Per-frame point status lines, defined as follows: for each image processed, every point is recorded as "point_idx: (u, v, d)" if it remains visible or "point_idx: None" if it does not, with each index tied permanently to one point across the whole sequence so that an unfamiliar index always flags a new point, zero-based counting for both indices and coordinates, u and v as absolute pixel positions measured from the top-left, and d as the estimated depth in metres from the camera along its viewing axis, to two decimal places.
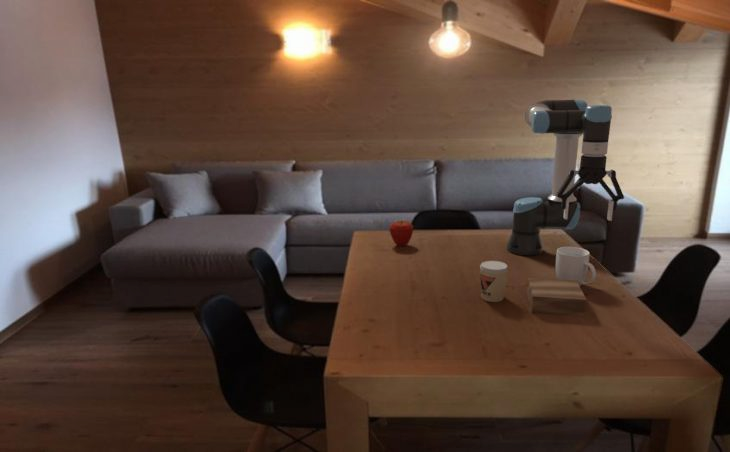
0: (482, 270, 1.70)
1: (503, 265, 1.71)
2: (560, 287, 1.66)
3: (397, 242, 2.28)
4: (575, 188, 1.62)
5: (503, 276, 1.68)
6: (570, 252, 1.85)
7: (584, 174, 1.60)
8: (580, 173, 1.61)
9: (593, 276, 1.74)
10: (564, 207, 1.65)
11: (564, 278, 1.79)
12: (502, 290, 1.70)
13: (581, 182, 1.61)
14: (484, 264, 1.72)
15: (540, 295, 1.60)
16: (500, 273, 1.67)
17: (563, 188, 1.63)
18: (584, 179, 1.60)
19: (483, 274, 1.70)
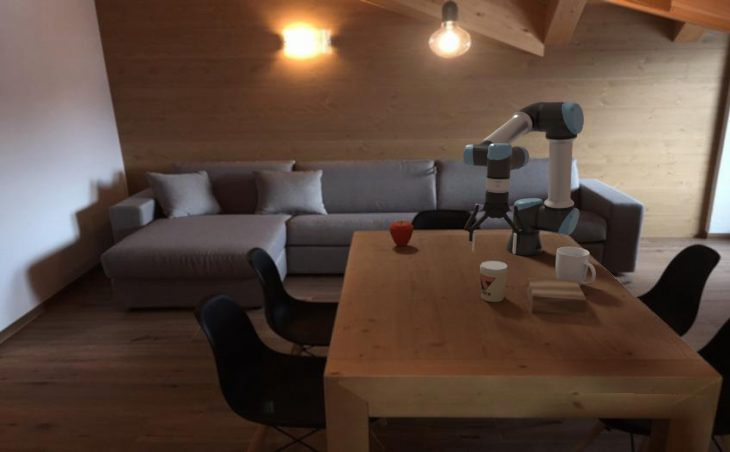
0: (482, 270, 1.70)
1: (503, 265, 1.71)
2: (560, 287, 1.66)
3: (397, 242, 2.28)
4: (480, 222, 1.68)
5: (503, 276, 1.68)
6: (570, 252, 1.85)
7: (488, 209, 1.66)
8: (484, 208, 1.66)
9: (593, 276, 1.74)
10: (471, 240, 1.70)
11: (564, 278, 1.79)
12: (502, 290, 1.70)
13: (485, 216, 1.66)
14: (484, 264, 1.72)
15: (540, 295, 1.60)
16: (500, 273, 1.67)
17: (469, 221, 1.68)
18: (488, 213, 1.66)
19: (483, 274, 1.70)
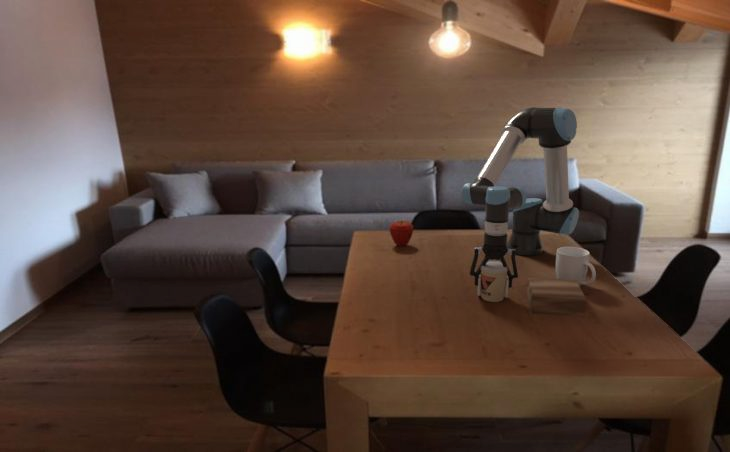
0: (482, 270, 1.70)
1: None
2: (560, 287, 1.66)
3: (397, 242, 2.28)
4: (483, 265, 1.70)
5: (503, 276, 1.68)
6: (570, 252, 1.85)
7: (487, 250, 1.69)
8: (483, 250, 1.69)
9: (593, 276, 1.74)
10: (477, 284, 1.73)
11: (564, 278, 1.79)
12: (502, 290, 1.70)
13: (486, 259, 1.69)
14: None
15: (540, 295, 1.60)
16: (500, 273, 1.67)
17: (473, 266, 1.71)
18: (488, 256, 1.68)
19: (483, 274, 1.70)
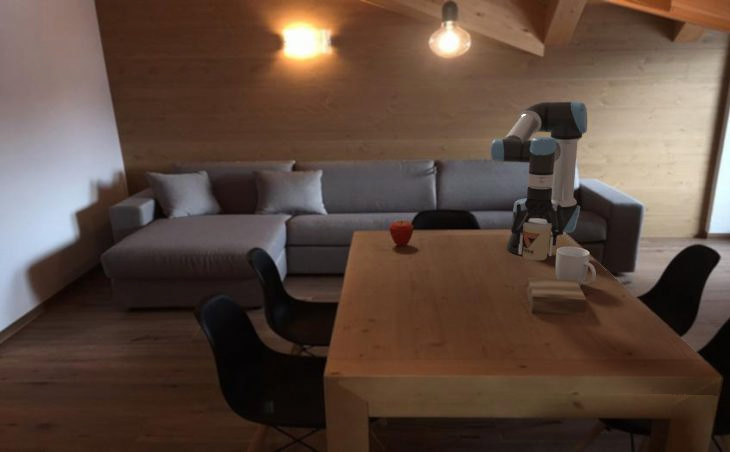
0: (525, 226, 1.61)
1: None
2: (560, 287, 1.66)
3: (397, 242, 2.28)
4: (526, 222, 1.62)
5: (547, 232, 1.59)
6: (570, 252, 1.85)
7: (531, 205, 1.60)
8: (526, 205, 1.60)
9: (593, 276, 1.74)
10: (518, 242, 1.64)
11: (564, 278, 1.79)
12: (546, 248, 1.61)
13: (529, 215, 1.60)
14: None
15: (540, 295, 1.60)
16: (544, 229, 1.58)
17: (514, 223, 1.62)
18: (531, 211, 1.60)
19: (526, 231, 1.61)
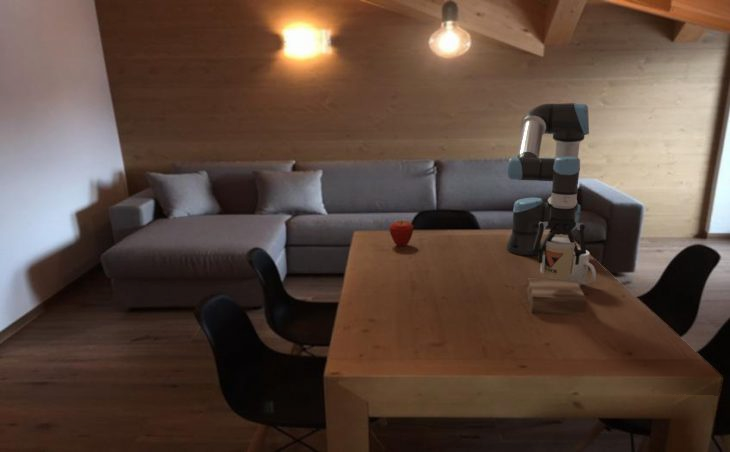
0: (548, 246, 1.60)
1: None
2: (560, 287, 1.66)
3: (397, 242, 2.28)
4: (548, 241, 1.61)
5: (571, 252, 1.58)
6: None
7: (554, 224, 1.59)
8: (549, 224, 1.59)
9: (593, 276, 1.74)
10: (540, 261, 1.63)
11: None
12: (569, 267, 1.60)
13: (552, 234, 1.59)
14: None
15: (540, 295, 1.60)
16: (568, 248, 1.57)
17: (537, 242, 1.61)
18: (554, 231, 1.59)
19: (549, 250, 1.60)
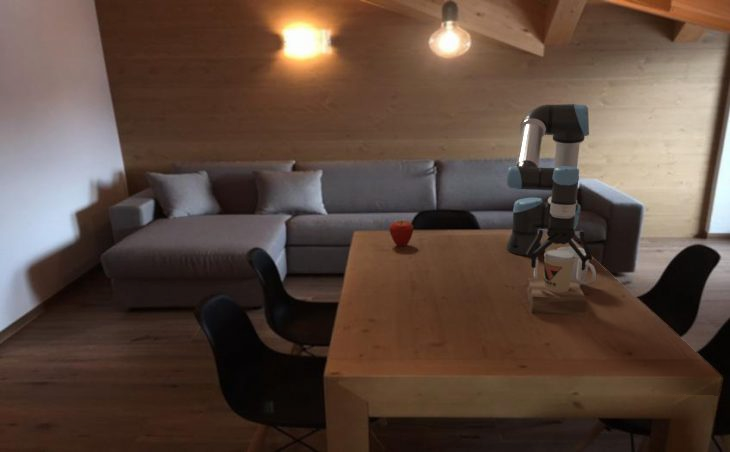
0: (547, 259, 1.61)
1: (569, 254, 1.62)
2: None
3: (397, 242, 2.28)
4: (544, 248, 1.61)
5: (570, 265, 1.59)
6: None
7: (553, 234, 1.60)
8: (549, 233, 1.60)
9: (593, 276, 1.74)
10: (534, 266, 1.64)
11: None
12: (568, 280, 1.61)
13: (550, 242, 1.60)
14: (549, 253, 1.64)
15: (540, 295, 1.60)
16: (567, 262, 1.58)
17: (532, 248, 1.62)
18: (553, 239, 1.60)
19: (548, 263, 1.61)
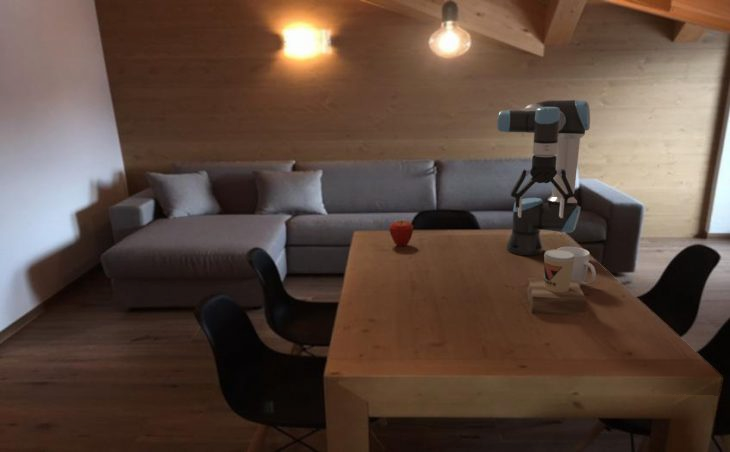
0: (547, 259, 1.61)
1: (569, 254, 1.62)
2: None
3: (397, 242, 2.28)
4: (527, 187, 1.68)
5: (570, 265, 1.59)
6: None
7: (536, 174, 1.66)
8: (532, 173, 1.66)
9: (593, 276, 1.74)
10: (518, 206, 1.70)
11: None
12: (568, 280, 1.61)
13: (533, 181, 1.66)
14: (548, 253, 1.64)
15: (540, 295, 1.60)
16: (567, 262, 1.58)
17: (516, 187, 1.68)
18: (536, 178, 1.66)
19: (548, 263, 1.61)
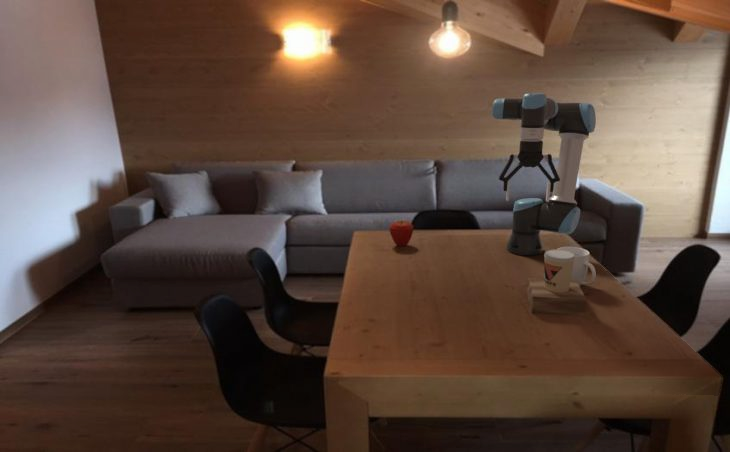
0: (547, 259, 1.61)
1: (569, 254, 1.62)
2: None
3: (397, 242, 2.28)
4: (515, 171, 1.73)
5: (570, 265, 1.59)
6: None
7: (523, 158, 1.72)
8: (519, 157, 1.72)
9: (593, 276, 1.74)
10: (505, 189, 1.76)
11: None
12: (568, 280, 1.61)
13: (520, 165, 1.72)
14: (549, 253, 1.64)
15: (540, 295, 1.60)
16: (567, 262, 1.58)
17: (504, 171, 1.74)
18: (523, 163, 1.71)
19: (548, 263, 1.61)
